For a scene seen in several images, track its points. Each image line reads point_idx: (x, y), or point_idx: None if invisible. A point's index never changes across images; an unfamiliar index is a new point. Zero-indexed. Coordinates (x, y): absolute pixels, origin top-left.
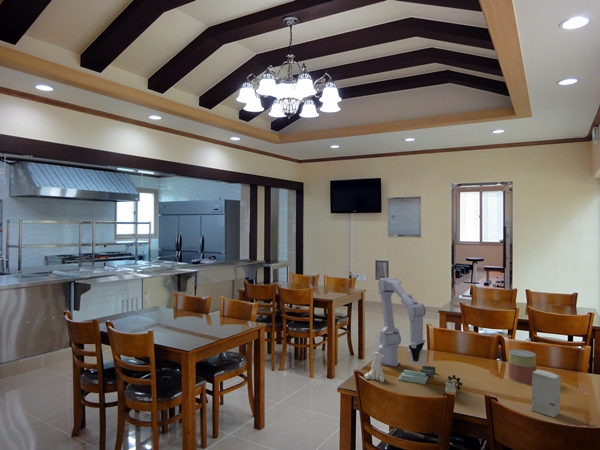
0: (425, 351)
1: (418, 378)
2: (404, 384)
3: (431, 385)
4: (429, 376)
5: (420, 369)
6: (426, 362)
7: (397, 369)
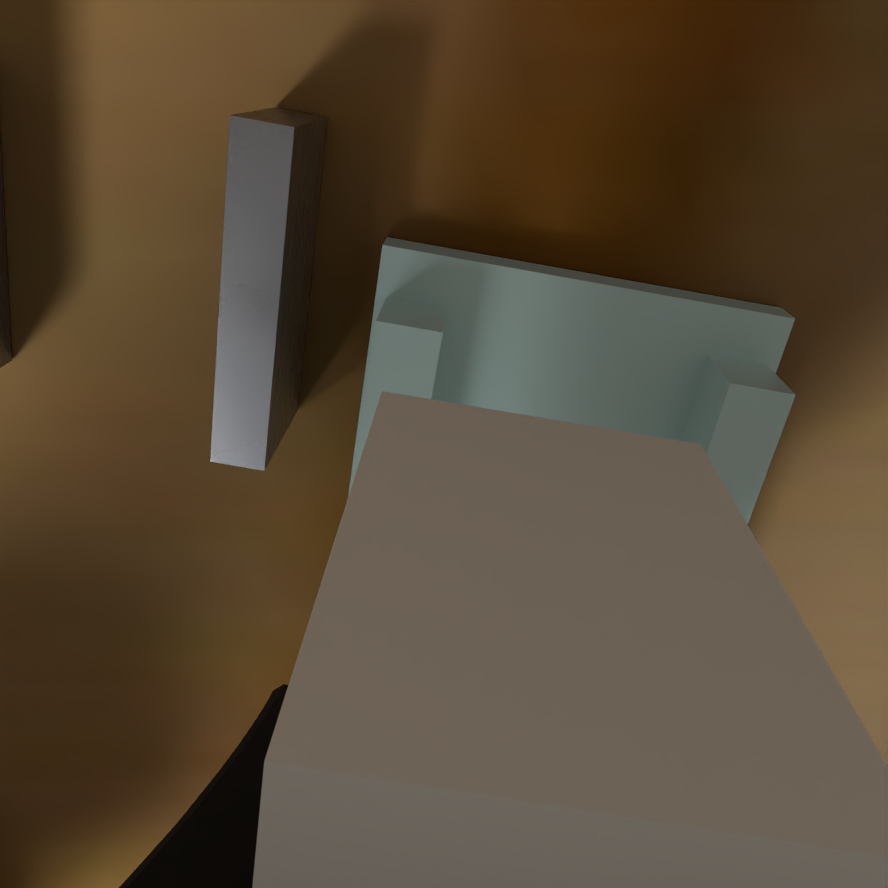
0: (542, 837)
1: (754, 479)
2: (832, 663)
3: (831, 164)
4: (314, 208)
5: (246, 456)
6: (429, 420)
7: (103, 770)
